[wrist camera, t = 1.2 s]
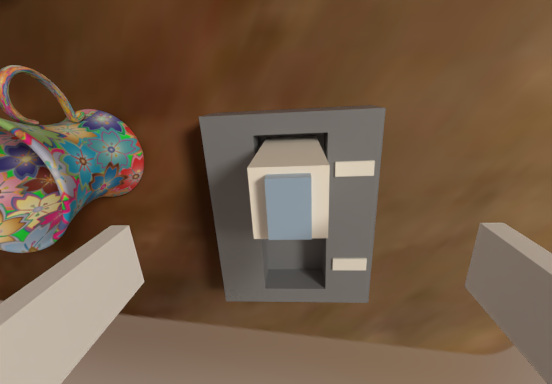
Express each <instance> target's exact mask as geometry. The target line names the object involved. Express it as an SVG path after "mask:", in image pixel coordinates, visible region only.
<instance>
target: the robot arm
mask: <svg viewBox="0 0 552 384" xmlns="http://www.w3.org/2000/svg"><path fill="white" fill-rule="evenodd" d="M143 283H144V278H143V275H142V271H141V267H140V264H139V260H138V256H137V253H136V249H135V246H134V242H133V238H132V235H131V231H130V227H129V225H121V226H110V227H108V228H107V229H105V230H104V231H103V232H101V233H100V234H98V235H97V236H96V237H94V238H93V239H91V240H90V241H88V242H87V243H86V244H84V245H83V246H81V247H80V248H79V249H77V250H76V251H74V252H73V253H71V254H70V255H69V256H67V257H66V258H64V259H63V260H61V261H60V262H59V263H57V264H56V265H54V266H53V267H52V268H50V269H49V270H47V271H46V272H44V273H43V274H42V275H40V276H39V277H37V278H36V279H35V280H33V281H32V282H30V283H29V284H27V285H26V286H25V287H23V288H22V289H20V290H19V291H17V292H16V293H15V294H13V295H12V296H10V297H9V298H8V299H6V300H5V301H3V302H2V303H1V304H0V384H61V383H62V382H63V380H64V379H65V378H66V377H67V376H68V374H69V373H70V372H71V371H72V369H73V368H74V367H75V366H76V365H77V363H78V362H79V361H80V360H81V359H82V357H83V356H84V355H85V354H86V352H87V351H88V350H89V349H90V348H91V346H92V345H93V344H94V343H95V342H96V340H97V339H98V338H99V337H100V335H101V334H102V333H103V332H104V331H105V329H106V328H107V327H108V326H109V324H110V323H111V322H112V321H113V320H114V318H115V317H116V316H117V315H118V313H119V312H120V311H121V310H122V309H123V307H124V306H125V305H126V304H127V303H128V301H129V300H130V299H131V298H132V296H133V295H134V294H135V293H136V292H137V290H138V289H139V288H140V287H141V285H142V284H143ZM465 288H466V289H467V290H468V291H469V292H470V293H471V295H472V296H473V297H474V298H475V299H476V300H477V302H478V303H479V304H480V305H481V306H482V308H483V309H484V310H485V311H486V312H487V313H488V315H489V316H490V317H491V318H492V319H493V320H494V322H495V323H496V324H497V325H498V326H499V327H500V329H501V330H502V331H503V332H504V333H505V335H506V336H507V337H508V338H509V339H510V340H511V342H512V343H513V344H514V345H515V346H516V347H517V348H518V350H519V351H520V352H521V353H522V354H523V356H524V357H525V358H526V359H527V360H528V362H529V363H530V364H531V365H532V366H533V367H534V369H535V370H536V371H537V372H538V373H539V374H540V376H541V377H542V378H543V379H544V380H545V381H546V382H547V384H552V253H550V252H549V251H547V250H545V249H544V248H542V247H541V246H539V245H538V244H536V243H535V242H533V241H531V240H530V239H528V238H527V237H525V236H524V235H522V234H520V233H519V232H517V231H516V230H514V229H513V228H511V227H509V226H508V225H506V224H505V223H480V225H479V229H478V233H477V237H476V241H475V246H474V250H473V254H472V258H471V262H470V266H469V270H468V274H467V278H466V282H465Z"/></svg>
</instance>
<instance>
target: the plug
mask: <svg viewBox="0 0 552 384" xmlns="http://www.w3.org/2000/svg"><path fill="white" fill-rule="evenodd" d="M247 172H248V182H249V193H250V204H251V215H252V225H253V236H254V239H269V240H312V238H328V223H329V174H330V165H329V163H328V161H327V158H326V156H325V154H324V152H323V150H322V148H321V146H320V143H319V141H318V139H317V137H316V136H304V137H280V138H266V139H265V141H264V143H263V144H262V146H261V147H260V149H259V150H258V152H257V153H256V155H255V156H254V158H253V160H252V161H251V163H250V164H249V166H248V167H247Z"/></svg>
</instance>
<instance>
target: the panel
mask: <svg viewBox="0 0 552 384" xmlns="http://www.w3.org/2000/svg"><path fill="white" fill-rule="evenodd" d="M384 119H385V108H384V107H378V106H372V105H366V106H346V107H326V108H306V109H286V110H266V111H246V112H226V113H212V114H208V115H204V116H200V117H199V122H200V128H201V135H202V142H203V148H204V155H205V162H206V169H207V175H208V182H209V189H210V196H211V202H212V209H213V216H214V222H215V229H216V236H217V243H218V249H219V256H220V263H221V270H222V276H223V283H224V290H225V296H226V301H265V302H354V303H368V298H369V287H370V276H371V265H372V253H373V242H374V231H375V220H376V209H377V197H378V186H379V175H380V164H381V153H382V141H383V130H384ZM304 136H316V137H317V139H318V141H319V143H320V146H321V148H322V150H323V152H324V154H325V156H326V158H327V161H328V163H329V165H330V174H329V223H328V238H312V240H269V239H254V236H253V225H252V215H251V204H250V193H249V182H248V172H247V167H248V166H249V164H250V163H251V161H252V160H253V158H254V156H255V155H256V153H257V152H258V150H259V149H260V147H261V146H262V144H263V143H264V141H265V139H266V138H280V137H304Z"/></svg>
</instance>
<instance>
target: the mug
mask: <svg viewBox="0 0 552 384" xmlns="http://www.w3.org/2000/svg"><path fill="white" fill-rule="evenodd" d="M18 73H25V74H28V75H30V76H32V77H33V78H35V79H36V80H38V81H39V82H41V83H42V84H43V85H44V86H45V87H46V88H47V89H48V90H49V91H50V92H51V93H52V94H53V95H54V96H55V98H56V99H57V101H58V102H59V104H60V105H61V107H62V109H63V111H64V112H65V114H66V116H67V117H66V118H65V119H64V120H63V121H62V122H60V123H56V124H51V125H39V122H38V121H35V120H31V119H28V118H25V117H23V116H22V115H21V114H20V113H18V112H17V110H16V109H15V108H14V106H13V105H12V103H11V100H10V97H9V84H10V81H11V79H12V77H13V76H14V75H16V74H18ZM0 107H1V108H2V110H3V111H4V112H5V113H6V114H7V115H8V116H10V117H11V118H13V119H14V120H16V121H18V122H21V123H17V122H12V121H8V120H5V119H1V118H0V250H4V251H9V252H16V253H28V252H35V251H39V250H42V249H45V248H47V247H49V246H51V245H52V244H54V243H55V242H56V241H58V240H59V239H60V237H61V236H62V235H63V234H64V232H65V231H66V229H67V227H68V225H69V224H70V222H71V220H72V219H73V218H74V216H75V215H76V214H77V213H78V212H79V211H80V210H81V209H82V208H83V207H84V206H85V205H87V204H88V203H90V202H91V201H93V200H95V199H97V198H99V197H103V196H106V197H114V196H120V195H123V194H126V193H128V192H129V191H131V190H132V189H133V188H134V187H135V186H136V185H137V184H138V183H139V181H140V179H141V177H142V174H143V171H144V156H143V151H142V148H141V146H140V143H139V141H138V139H137V138H136V136H135V135H134V133H133V132H132V131H131V130H130V128H129V127H128V126H127V125H126V124H125V123H123V122H122V121H121V120H119V119H118V118H117V117H115V116H113V115H111V114H109V113H106V112H103V111H99V110H94V109H85V110H80V111H76V112H74V110H73V108H72V107H71V105H70V103H69V101H68V100H67V98H66V97H65V96H64V94H63V93H62V92H61V91H60V90H59V88H58V87H57V86H56V85H55V84H54V83H52V82H51V81H50V80H49V79H48V78H46V77H45V76H44V75H42V74H40V73H39V72H37V71H35V70H33V69H30V68H28V67H24V66H19V65H10V66H6V67H4V68H2V69H1V70H0ZM22 123H24V124H22Z"/></svg>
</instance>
